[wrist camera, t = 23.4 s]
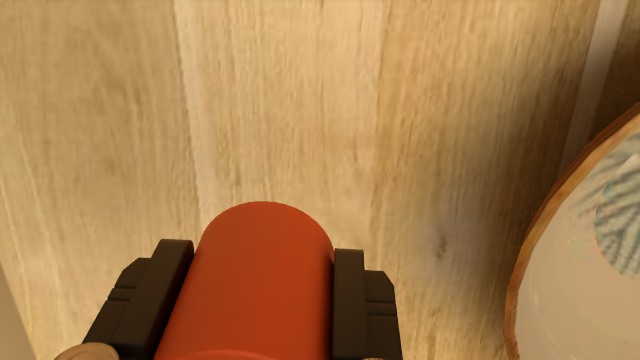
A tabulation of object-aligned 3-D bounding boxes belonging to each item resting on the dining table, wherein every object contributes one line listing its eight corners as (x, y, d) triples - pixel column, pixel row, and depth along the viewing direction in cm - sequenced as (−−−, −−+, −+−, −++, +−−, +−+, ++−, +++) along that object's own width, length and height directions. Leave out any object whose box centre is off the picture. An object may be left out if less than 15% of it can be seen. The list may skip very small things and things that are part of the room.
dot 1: (203, 306, 15) (148, 475, 11) (194, 196, 14) (124, 346, 9) (331, 313, 15) (327, 486, 11) (338, 203, 14) (337, 357, 9)
